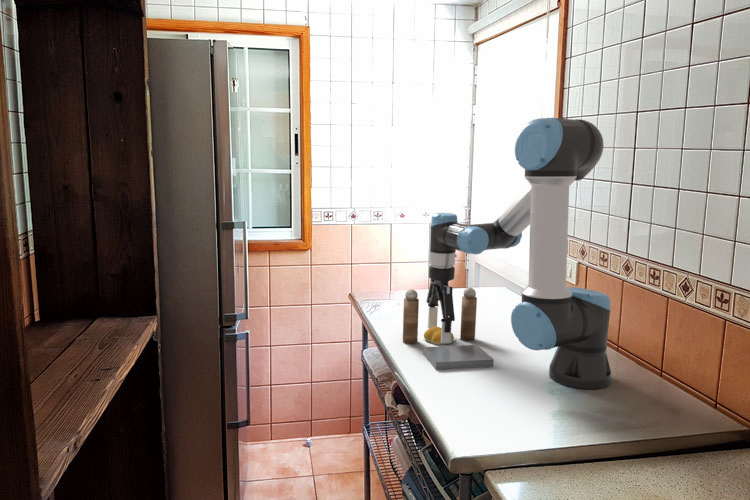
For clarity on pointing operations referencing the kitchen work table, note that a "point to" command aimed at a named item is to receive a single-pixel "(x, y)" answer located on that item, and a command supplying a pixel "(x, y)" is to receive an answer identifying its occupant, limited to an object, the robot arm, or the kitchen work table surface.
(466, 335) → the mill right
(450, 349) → the slate board
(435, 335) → the bread roll
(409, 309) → the mill left
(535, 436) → the kitchen work table surface
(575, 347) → the robot arm
